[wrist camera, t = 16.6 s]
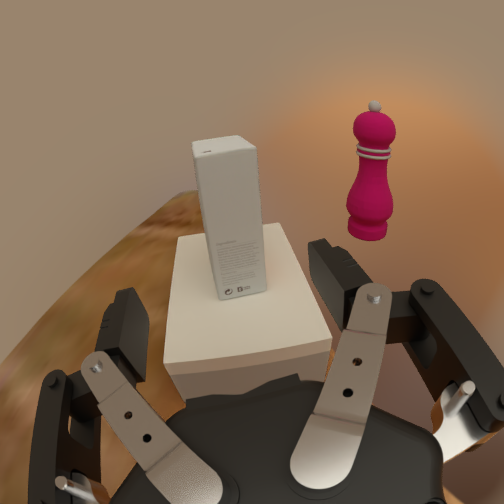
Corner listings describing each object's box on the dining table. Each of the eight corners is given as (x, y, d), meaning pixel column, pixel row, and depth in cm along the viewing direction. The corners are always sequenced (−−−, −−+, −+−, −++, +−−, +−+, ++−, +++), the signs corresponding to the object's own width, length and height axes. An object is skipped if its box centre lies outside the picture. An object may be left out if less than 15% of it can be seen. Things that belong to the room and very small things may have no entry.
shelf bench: (184, 403, 22) (163, 363, 19) (188, 277, 37) (178, 236, 34) (324, 381, 23) (332, 337, 20) (280, 263, 38) (279, 222, 35)
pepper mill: (339, 221, 46) (341, 97, 36) (379, 219, 46) (387, 100, 35) (352, 244, 40) (359, 101, 29) (396, 241, 40) (410, 105, 29)
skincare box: (268, 291, 24) (258, 146, 18) (218, 302, 24) (192, 157, 17) (251, 254, 29) (239, 133, 23) (209, 262, 29) (188, 141, 22)
